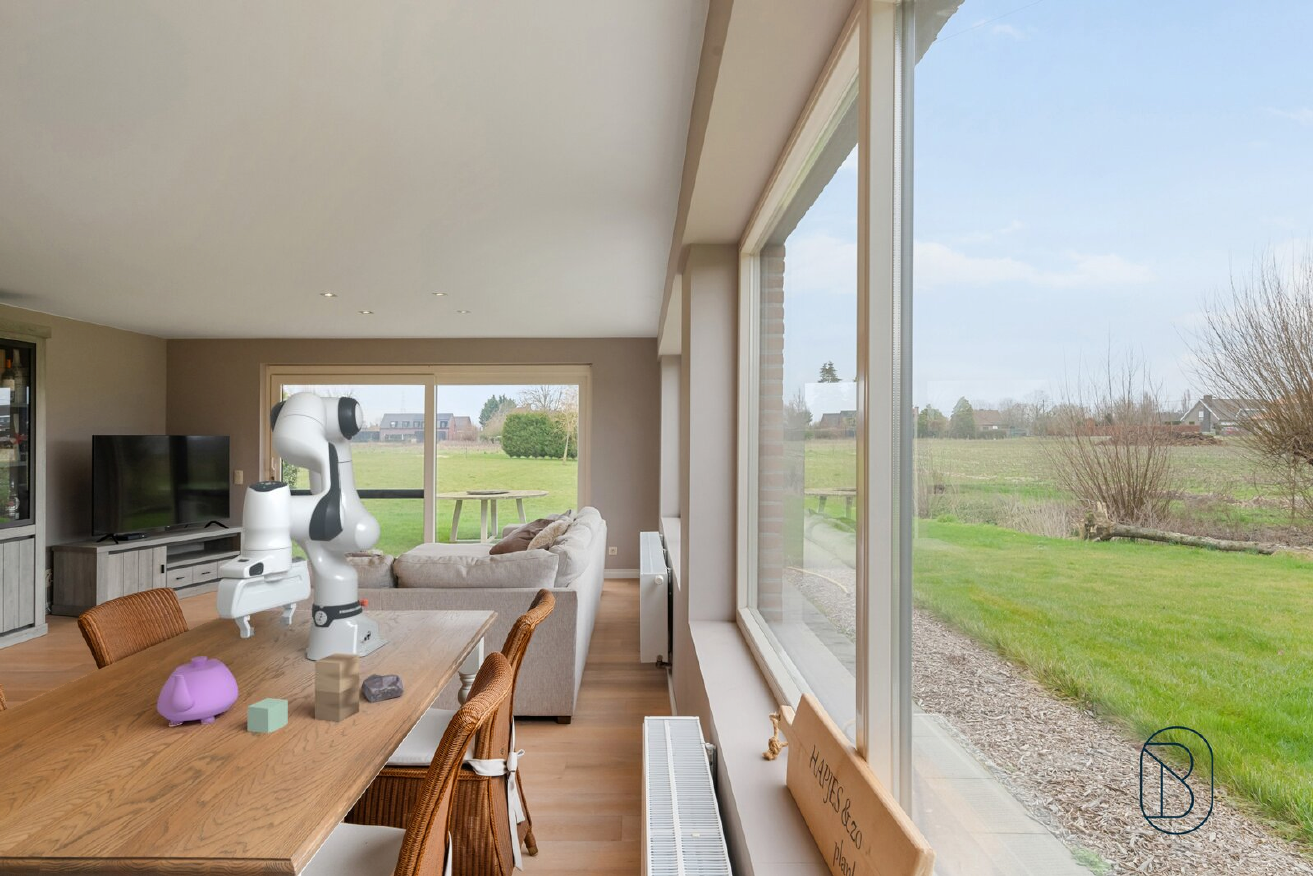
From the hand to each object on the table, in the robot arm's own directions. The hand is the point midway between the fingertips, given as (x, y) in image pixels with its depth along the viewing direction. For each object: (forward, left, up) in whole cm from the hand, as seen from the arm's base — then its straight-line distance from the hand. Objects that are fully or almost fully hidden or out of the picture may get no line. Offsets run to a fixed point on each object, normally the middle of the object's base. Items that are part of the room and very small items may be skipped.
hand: (266, 631), depth 140 cm
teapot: (0, -18, -20) cm, 26 cm away
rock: (-22, +11, -20) cm, 32 cm away
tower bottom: (-9, +9, -19) cm, 23 cm away
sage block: (0, 0, -19) cm, 19 cm away
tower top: (-9, +9, -13) cm, 19 cm away
